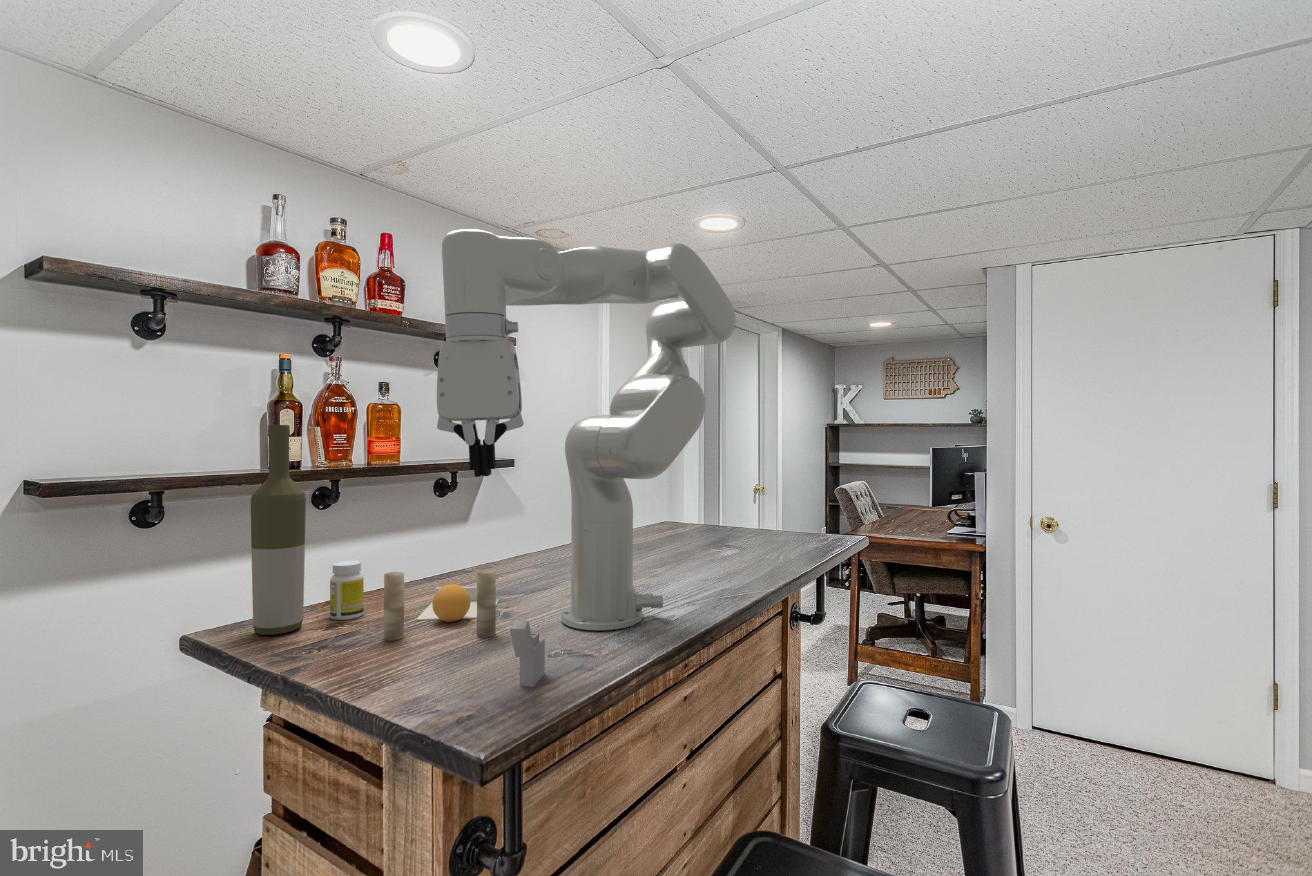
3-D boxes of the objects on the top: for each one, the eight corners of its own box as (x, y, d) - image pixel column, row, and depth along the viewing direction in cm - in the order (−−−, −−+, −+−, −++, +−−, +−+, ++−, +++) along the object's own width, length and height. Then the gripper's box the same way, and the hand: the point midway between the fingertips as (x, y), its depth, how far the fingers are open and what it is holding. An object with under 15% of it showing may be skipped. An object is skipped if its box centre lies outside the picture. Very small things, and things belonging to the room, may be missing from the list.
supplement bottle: (369, 612, 103) (369, 560, 103) (352, 620, 98) (352, 566, 98) (341, 611, 103) (341, 559, 103) (323, 619, 98) (323, 565, 98)
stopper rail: (496, 600, 110) (496, 585, 110) (495, 601, 109) (495, 587, 109) (436, 601, 109) (436, 587, 109) (435, 603, 108) (435, 588, 108)
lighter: (531, 672, 77) (531, 606, 77) (545, 673, 76) (545, 606, 76) (509, 696, 70) (509, 623, 70) (524, 697, 69) (524, 623, 69)
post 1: (406, 634, 91) (406, 571, 91) (400, 640, 89) (401, 575, 89) (387, 635, 91) (387, 572, 91) (381, 640, 88) (381, 575, 88)
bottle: (295, 637, 90) (295, 424, 90) (240, 639, 89) (241, 424, 89) (313, 622, 97) (313, 425, 97) (263, 624, 96) (263, 425, 96)
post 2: (496, 631, 93) (496, 569, 93) (494, 637, 90) (494, 573, 90) (478, 632, 92) (478, 570, 92) (475, 637, 90) (475, 574, 90)
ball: (469, 623, 95) (473, 615, 101) (467, 585, 96) (471, 580, 101) (430, 627, 94) (436, 619, 100) (428, 589, 95) (434, 583, 100)
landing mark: (499, 600, 110) (499, 599, 110) (489, 618, 100) (489, 616, 100) (433, 601, 109) (433, 600, 109) (416, 620, 98) (416, 618, 98)
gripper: (538, 334, 86) (544, 470, 86) (424, 336, 84) (431, 475, 85) (533, 326, 78) (539, 476, 79) (407, 329, 77) (415, 481, 78)
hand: (483, 475), depth 82 cm, fingers closed
